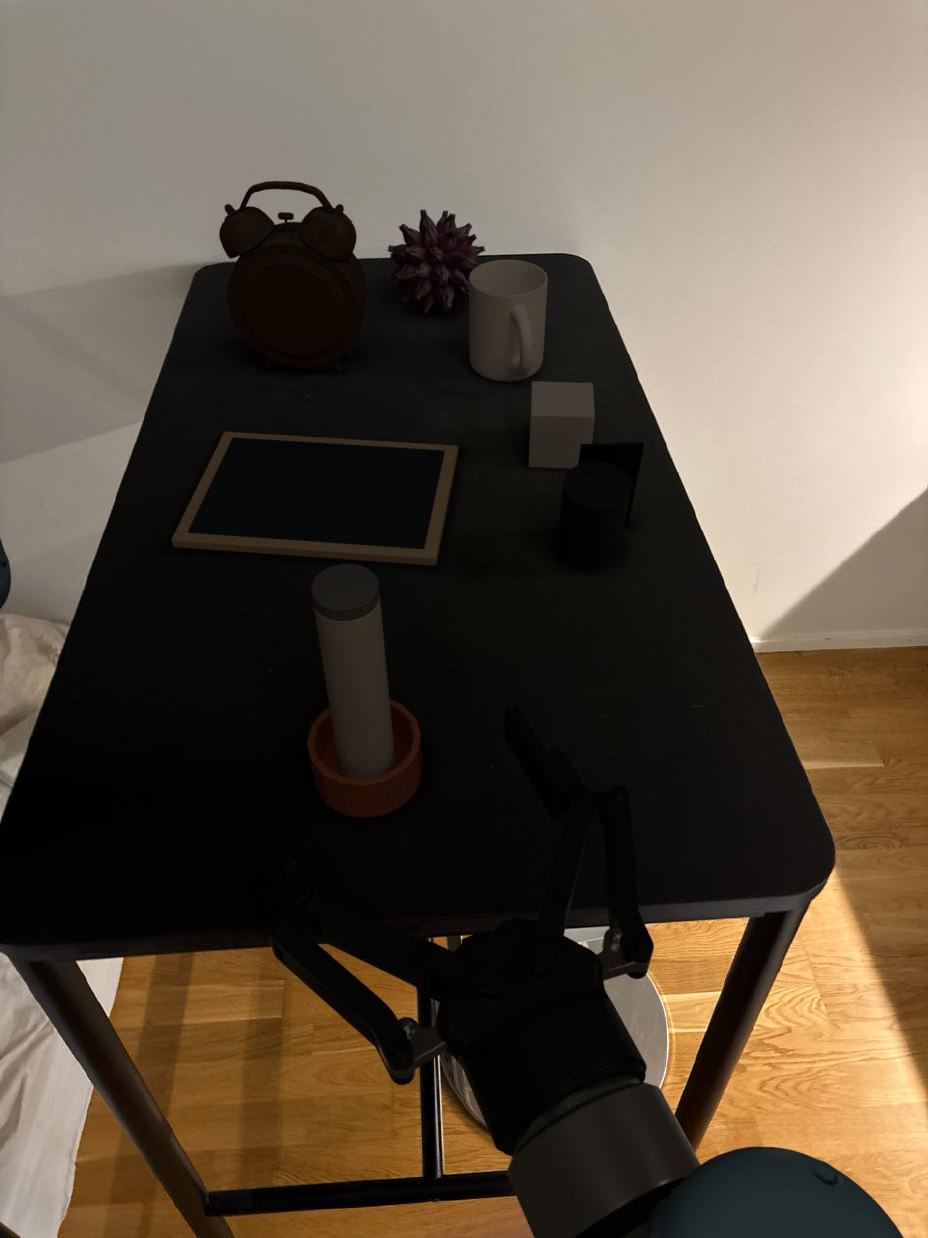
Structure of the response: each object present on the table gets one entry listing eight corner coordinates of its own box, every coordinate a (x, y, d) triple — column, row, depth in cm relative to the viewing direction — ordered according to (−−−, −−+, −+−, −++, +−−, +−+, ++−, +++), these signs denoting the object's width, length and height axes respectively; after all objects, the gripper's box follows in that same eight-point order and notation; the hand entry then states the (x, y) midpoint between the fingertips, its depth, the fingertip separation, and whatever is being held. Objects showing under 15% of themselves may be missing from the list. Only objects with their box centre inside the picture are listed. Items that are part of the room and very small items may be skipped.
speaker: (567, 510, 92) (579, 424, 83) (628, 525, 90) (646, 439, 82) (546, 568, 87) (556, 483, 79) (610, 584, 86) (627, 500, 78)
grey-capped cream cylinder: (334, 787, 69) (303, 607, 57) (345, 742, 72) (318, 560, 59) (390, 792, 69) (372, 612, 56) (399, 747, 72) (383, 565, 59)
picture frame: (173, 547, 89) (170, 539, 88) (225, 438, 100) (224, 430, 100) (436, 566, 87) (436, 557, 86) (458, 452, 99) (458, 444, 98)
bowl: (303, 812, 69) (296, 779, 66) (326, 725, 74) (321, 691, 71) (413, 823, 68) (411, 789, 65) (429, 734, 74) (427, 699, 71)
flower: (396, 299, 124) (487, 273, 124) (404, 343, 116) (502, 316, 115) (370, 209, 116) (467, 182, 116) (377, 250, 108) (482, 220, 107)
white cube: (528, 467, 97) (530, 415, 93) (529, 432, 101) (531, 381, 97) (589, 468, 96) (595, 417, 92) (588, 433, 101) (593, 382, 96)
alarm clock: (376, 348, 113) (362, 169, 99) (365, 381, 108) (349, 198, 94) (252, 342, 114) (221, 164, 100) (236, 375, 109) (200, 193, 95)
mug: (562, 396, 106) (568, 307, 98) (487, 407, 104) (488, 317, 97) (531, 341, 114) (535, 255, 106) (461, 349, 112) (461, 263, 105)
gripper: (314, 1274, 42) (202, 870, 56) (794, 1037, 49) (589, 730, 63) (291, 1229, 37) (173, 794, 50) (833, 970, 44) (599, 650, 57)
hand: (403, 758), depth 57 cm, fingers open, 13 cm apart
